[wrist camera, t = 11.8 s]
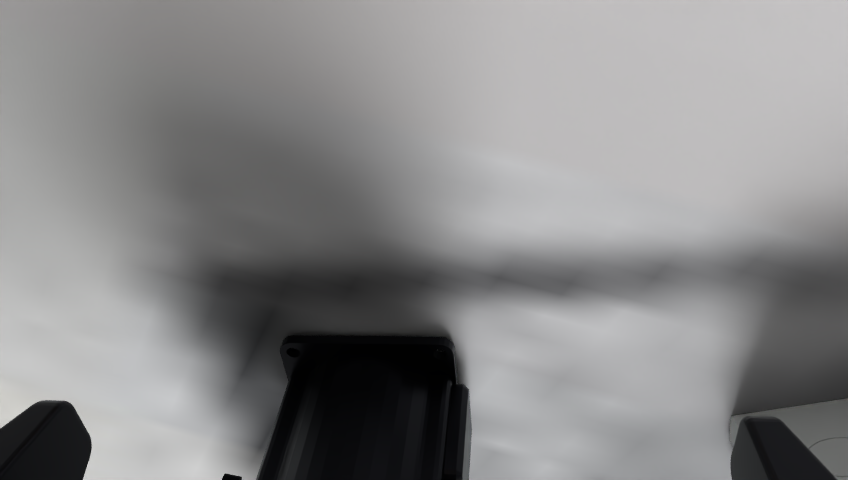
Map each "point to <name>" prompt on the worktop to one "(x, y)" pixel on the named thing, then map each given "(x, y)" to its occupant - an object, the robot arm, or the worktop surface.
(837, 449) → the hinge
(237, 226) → the worktop surface
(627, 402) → the worktop surface
